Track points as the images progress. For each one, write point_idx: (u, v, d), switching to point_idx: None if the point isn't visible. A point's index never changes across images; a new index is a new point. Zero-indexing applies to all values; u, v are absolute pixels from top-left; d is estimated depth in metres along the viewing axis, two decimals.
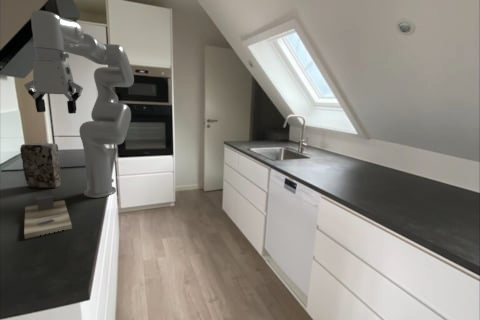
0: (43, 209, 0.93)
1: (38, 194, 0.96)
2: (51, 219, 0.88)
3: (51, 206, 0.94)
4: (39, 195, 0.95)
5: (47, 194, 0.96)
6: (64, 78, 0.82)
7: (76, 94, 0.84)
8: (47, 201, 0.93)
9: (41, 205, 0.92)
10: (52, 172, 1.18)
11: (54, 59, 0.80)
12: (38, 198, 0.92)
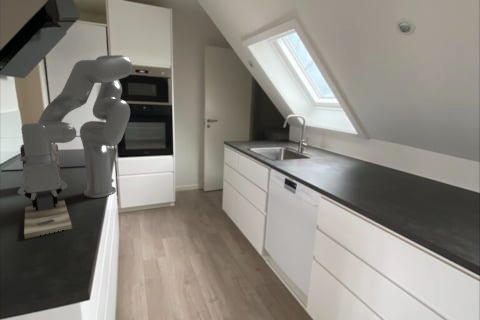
0: (43, 209, 0.93)
1: (38, 194, 0.96)
2: (51, 219, 0.88)
3: (51, 206, 0.94)
4: (39, 195, 0.95)
5: (47, 194, 0.96)
6: None
7: None
8: (47, 201, 0.93)
9: (41, 205, 0.92)
10: None
11: None
12: (38, 198, 0.92)
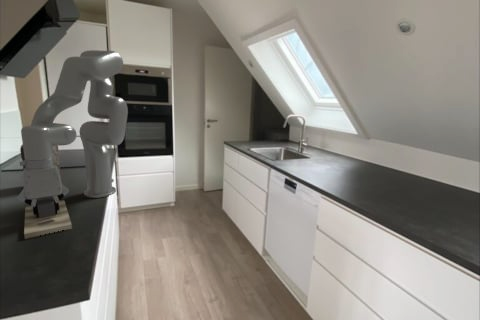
0: (44, 216, 0.88)
1: (39, 200, 0.91)
2: (51, 219, 0.88)
3: (52, 213, 0.89)
4: (40, 201, 0.90)
5: (49, 200, 0.91)
6: None
7: None
8: (48, 207, 0.88)
9: (42, 212, 0.87)
10: None
11: None
12: (39, 204, 0.87)
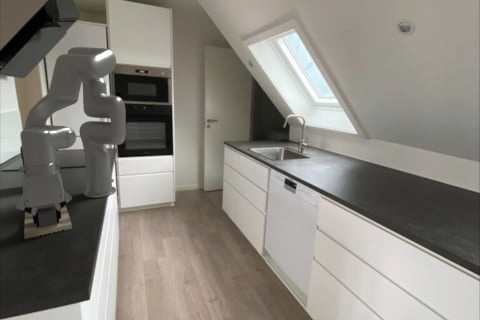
0: (45, 225, 0.82)
1: (39, 207, 0.85)
2: None
3: (54, 222, 0.83)
4: (41, 209, 0.84)
5: (50, 208, 0.85)
6: None
7: None
8: (49, 216, 0.82)
9: (43, 221, 0.81)
10: None
11: None
12: (39, 213, 0.81)
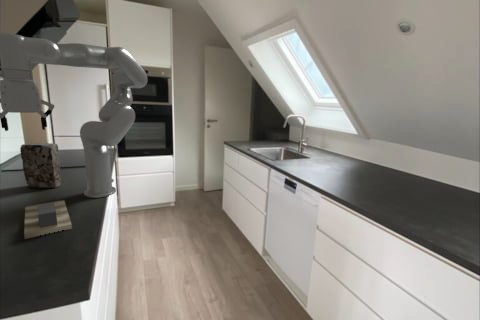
0: (45, 225, 0.82)
1: (40, 207, 0.85)
2: None
3: (54, 222, 0.83)
4: (41, 209, 0.84)
5: (50, 208, 0.85)
6: None
7: None
8: (49, 216, 0.82)
9: (43, 221, 0.81)
10: (52, 172, 1.18)
11: None
12: (39, 213, 0.81)
